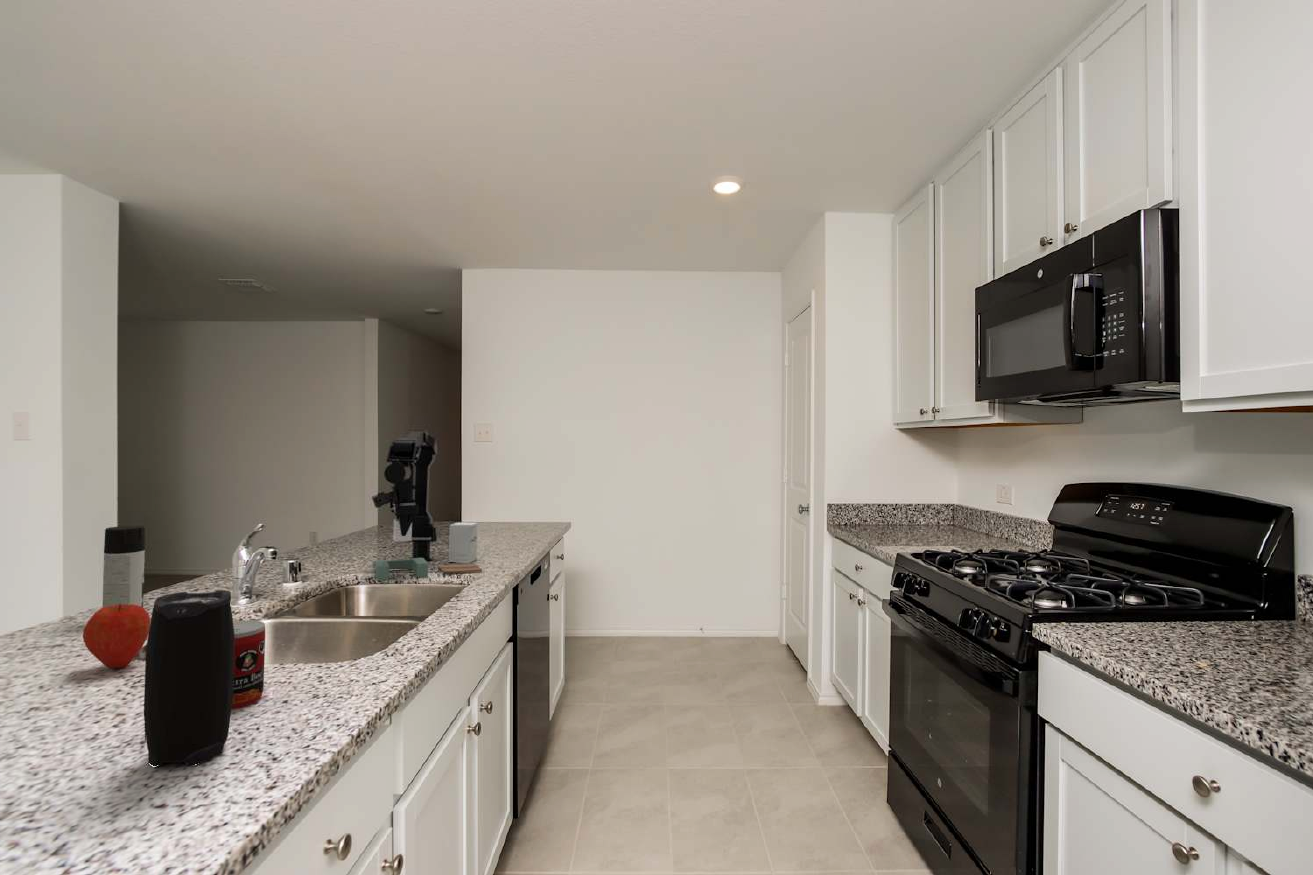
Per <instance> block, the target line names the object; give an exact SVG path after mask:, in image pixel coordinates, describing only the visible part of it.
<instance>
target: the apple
mask: <svg viewBox="0 0 1313 875" xmlns="http://www.w3.org/2000/svg"><path fill="white" fill-rule="evenodd" d="M150 623H151V618H150V615H149V612H148V611H147V609H145V608H144V606H143V607H141V606H138V605H128V604H126V605H121V604H120V605H118V606H110V607H104V608H100V609H98V610H97V611H95V612H94V613H93V614H92V616H91V617H90V618H89V619H88V620H87V623H86V625H85V626H84V628H83V633H82V639H83V642H84V645H85V647H86V648H87V650H88V651H89V652H90V653H91V654H92V656H94V657H95V658H96V659H97V661H100V663H101V664H102V665H103V666H105V667H106V668H110V669H111V668H112V669H121V668H127V667H128V666H129V664H131V662H132V661H133V660H134V659H135V657H136V656H137V655H139V654H138V653H139V652H140V651H141V650H142V649H143V646H144V644H145V643H146V642H147V640H148V634H149V629H150Z"/></svg>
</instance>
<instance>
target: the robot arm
mask: <svg viewBox="0 0 1313 875" xmlns="http://www.w3.org/2000/svg"><path fill="white" fill-rule="evenodd" d="M437 455H438V443H437V440H436V439H435V437H433V436H431V435H430V434H429V432H428V430H426V429H412V430H410V432H409V433H408V434H407V435H406V436H405V437H404V438H394V439H393V440H392V442H391V443H390V444H389V448H388V454H387V457H386V463H391V464H388V466H386V468H385V469H384V471H383V472H384V473H383V474H384V478H385V480H386V481H387V482H388V483H390V484H392V485H391V487H390V490H387V491H381V492H377V494H376V495H373V496H371V499H372V502H373V506H374V507H375V508H376V509H377V508H381V507H382V506H384V505H388V508H389V509H390V512H391V513H392V514H393V515H394V516H395V519H399V523H400V530H401V535H402V536H406V534H407V532H408V530H409V527H410V525H411V523H412V541H406V543H411V548H412V549H411V556H410V557H409V559H412V558H424V559H425V560H426V562H428V561H433V557H431V543H434V542H437V540H438V539H437V538H438V535H437V528H436V527H435V523H434V521H433V520H434V519H433V516H432V514H431V513H430V511H429V502H430V501H429V500H430V497H429V496H430V475H431V474H430V473H431V466H432V465H433V464H434V463H435V460H436V456H437ZM392 508H393V509H392Z"/></svg>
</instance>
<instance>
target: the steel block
mask: <svg viewBox="0 0 1313 875" xmlns="http://www.w3.org/2000/svg"><path fill="white" fill-rule="evenodd" d="M392 536H393V537H392V538H393V541H394V542H395V543H396V542H407V541H412V523H411V525H410V527H409V530H408V532H407V534H406V536H402V535H401V530H400V523H399V519H396V518H394V519H393V535H392Z"/></svg>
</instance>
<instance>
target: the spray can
mask: <svg viewBox="0 0 1313 875" xmlns="http://www.w3.org/2000/svg"><path fill="white" fill-rule="evenodd" d="M103 544H104V545H103V573H102V576H103V581H102V608H104V607H110V606H118V605H120V604H121V605H126V604H128V605H138V606H141V607H143V608H144V604H145V603H144V602H145V601H144V597H145V596H144V595H145V594H144V593H145V589H144V588H145V564H146V563H145V562H146V561H145V559H146V526H144V525H124V526H123V525H121V526H110V527H107V528H105V530H104V543H103Z"/></svg>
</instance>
